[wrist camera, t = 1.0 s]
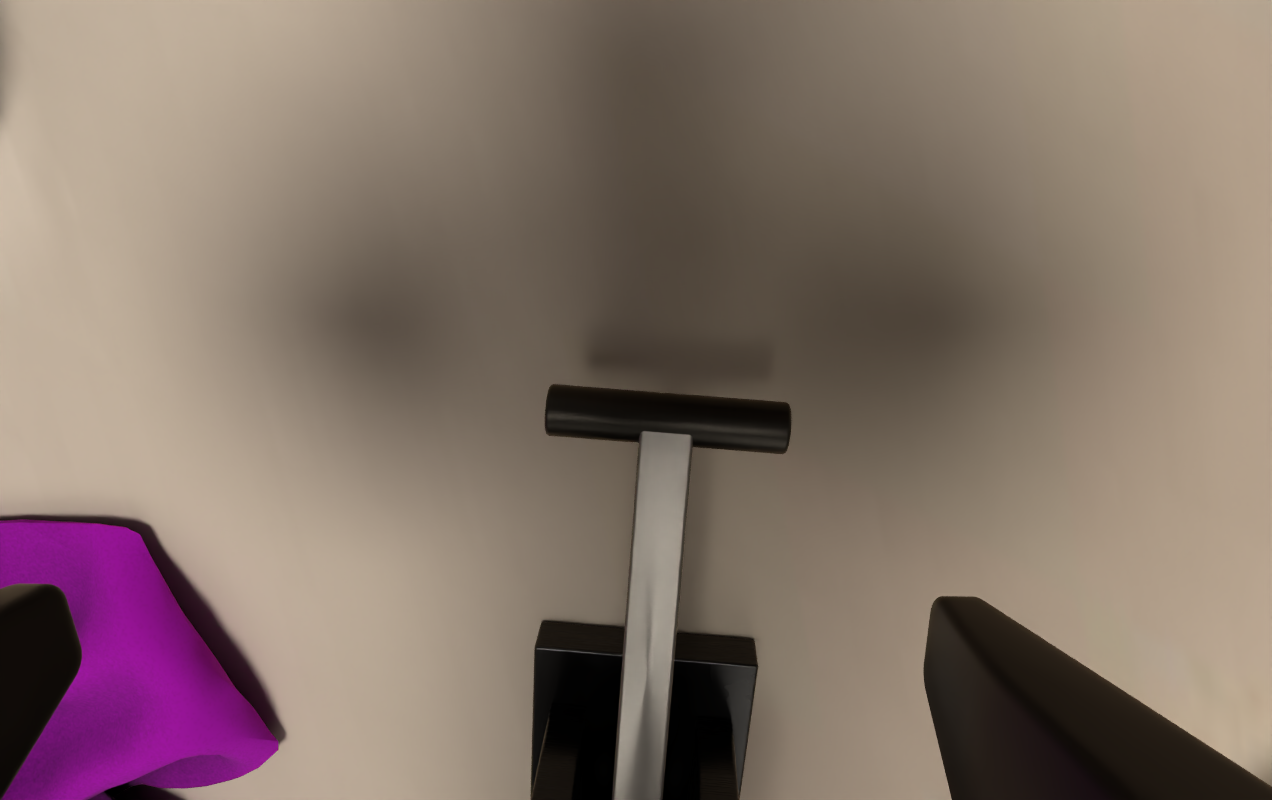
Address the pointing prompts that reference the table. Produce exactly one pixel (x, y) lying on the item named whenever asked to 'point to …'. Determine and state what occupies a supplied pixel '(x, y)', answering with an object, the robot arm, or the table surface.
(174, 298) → the table surface
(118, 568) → the cloth
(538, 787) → the bracket
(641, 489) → the lever
